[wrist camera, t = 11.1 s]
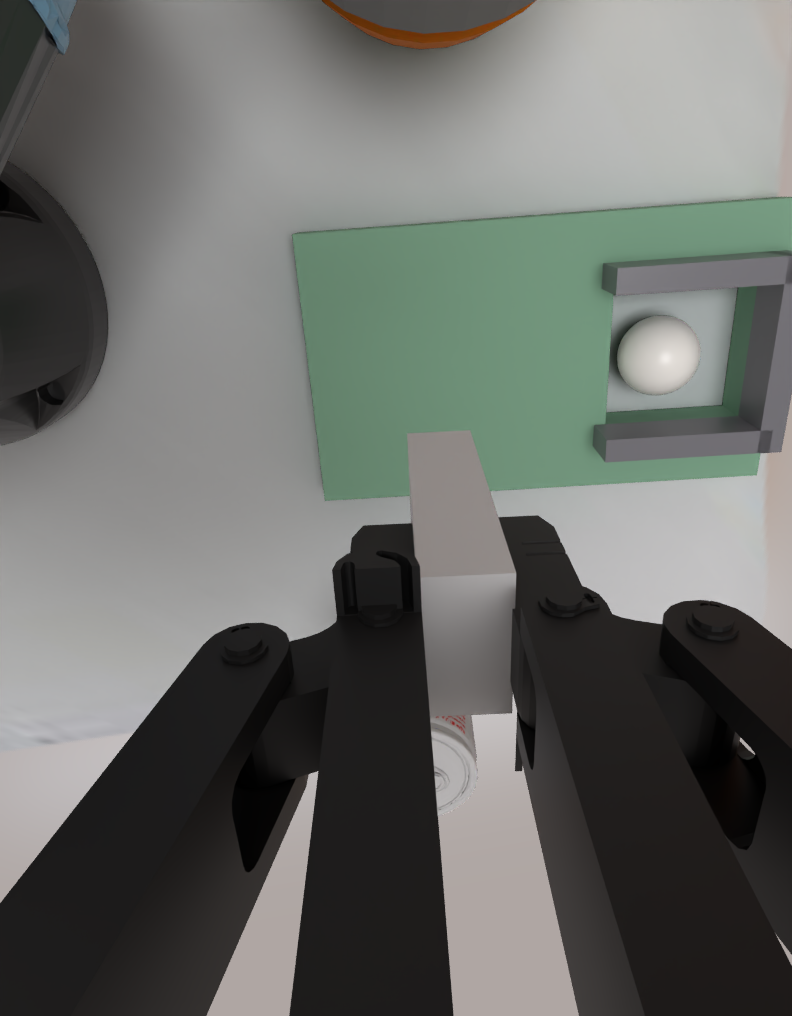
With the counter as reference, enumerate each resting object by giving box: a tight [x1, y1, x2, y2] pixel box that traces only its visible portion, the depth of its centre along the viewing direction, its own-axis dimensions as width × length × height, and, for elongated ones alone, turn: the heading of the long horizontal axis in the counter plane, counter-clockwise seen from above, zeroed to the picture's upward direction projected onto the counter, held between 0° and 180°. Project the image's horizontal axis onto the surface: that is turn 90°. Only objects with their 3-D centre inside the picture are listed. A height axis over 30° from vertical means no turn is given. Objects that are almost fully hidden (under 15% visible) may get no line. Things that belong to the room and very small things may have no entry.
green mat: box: [292, 197, 792, 501], centre depth 36 cm, size 24×14×2 cm, turn 94°
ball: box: [617, 315, 701, 395], centre depth 35 cm, size 4×4×4 cm
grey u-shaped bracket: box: [593, 250, 792, 463], centre depth 34 cm, size 9×9×2 cm
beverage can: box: [430, 715, 478, 816], centre depth 37 cm, size 6×6×15 cm
